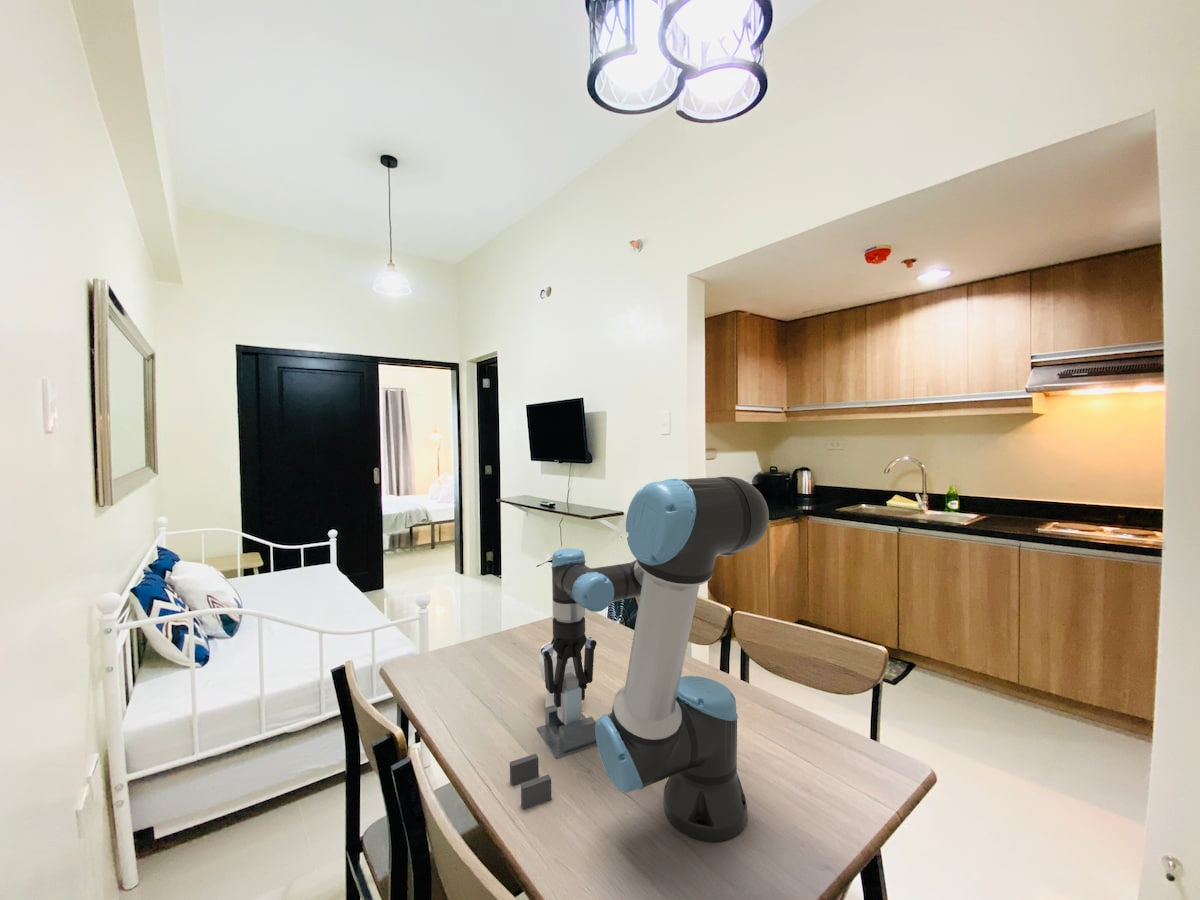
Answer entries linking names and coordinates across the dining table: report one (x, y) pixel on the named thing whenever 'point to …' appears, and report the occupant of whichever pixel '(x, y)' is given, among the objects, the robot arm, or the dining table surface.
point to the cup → (568, 668)
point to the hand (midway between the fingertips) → (569, 716)
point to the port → (567, 733)
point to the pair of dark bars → (533, 789)
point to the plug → (571, 698)
